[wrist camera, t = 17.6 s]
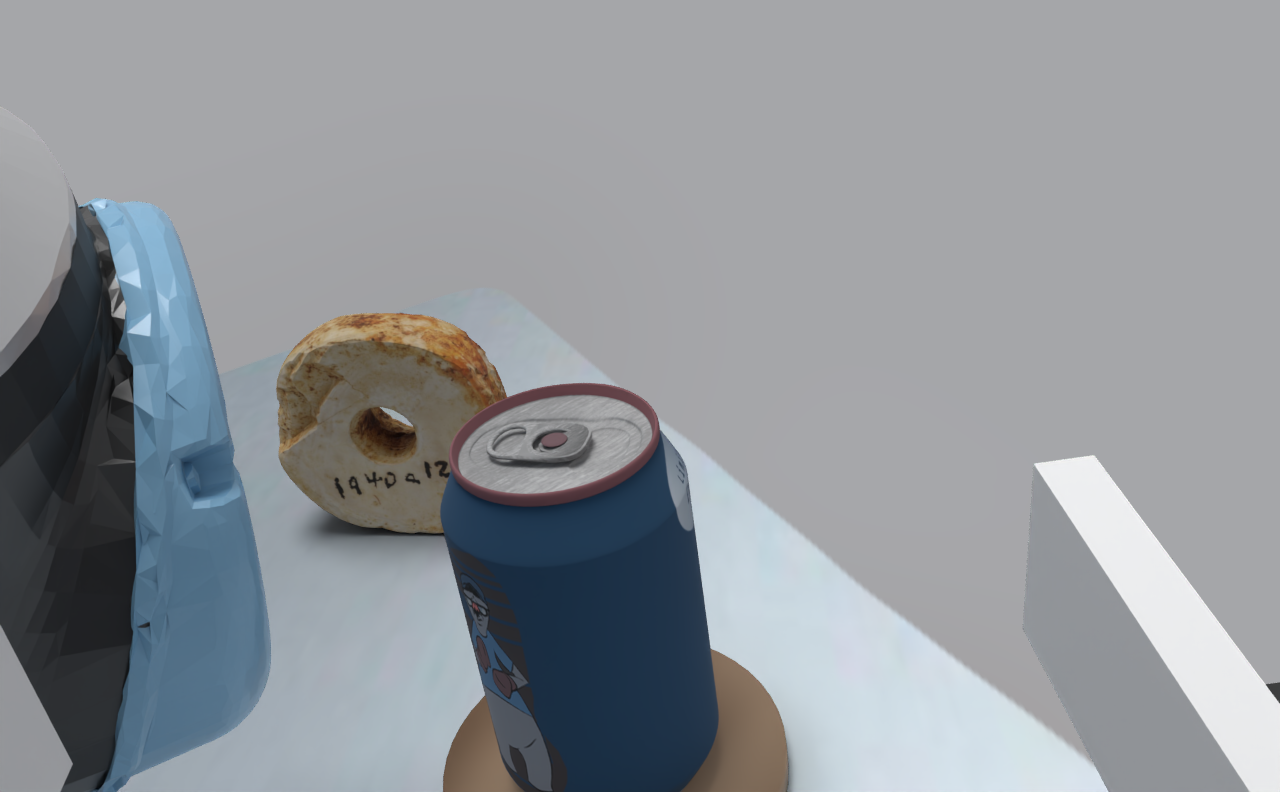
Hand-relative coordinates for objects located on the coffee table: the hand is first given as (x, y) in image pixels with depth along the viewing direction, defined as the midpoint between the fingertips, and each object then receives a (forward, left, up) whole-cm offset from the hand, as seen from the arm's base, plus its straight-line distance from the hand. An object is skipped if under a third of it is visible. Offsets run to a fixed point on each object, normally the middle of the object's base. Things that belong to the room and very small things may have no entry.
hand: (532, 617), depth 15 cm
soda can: (-5, +15, -19) cm, 24 cm away
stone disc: (-17, +29, -20) cm, 39 cm away
